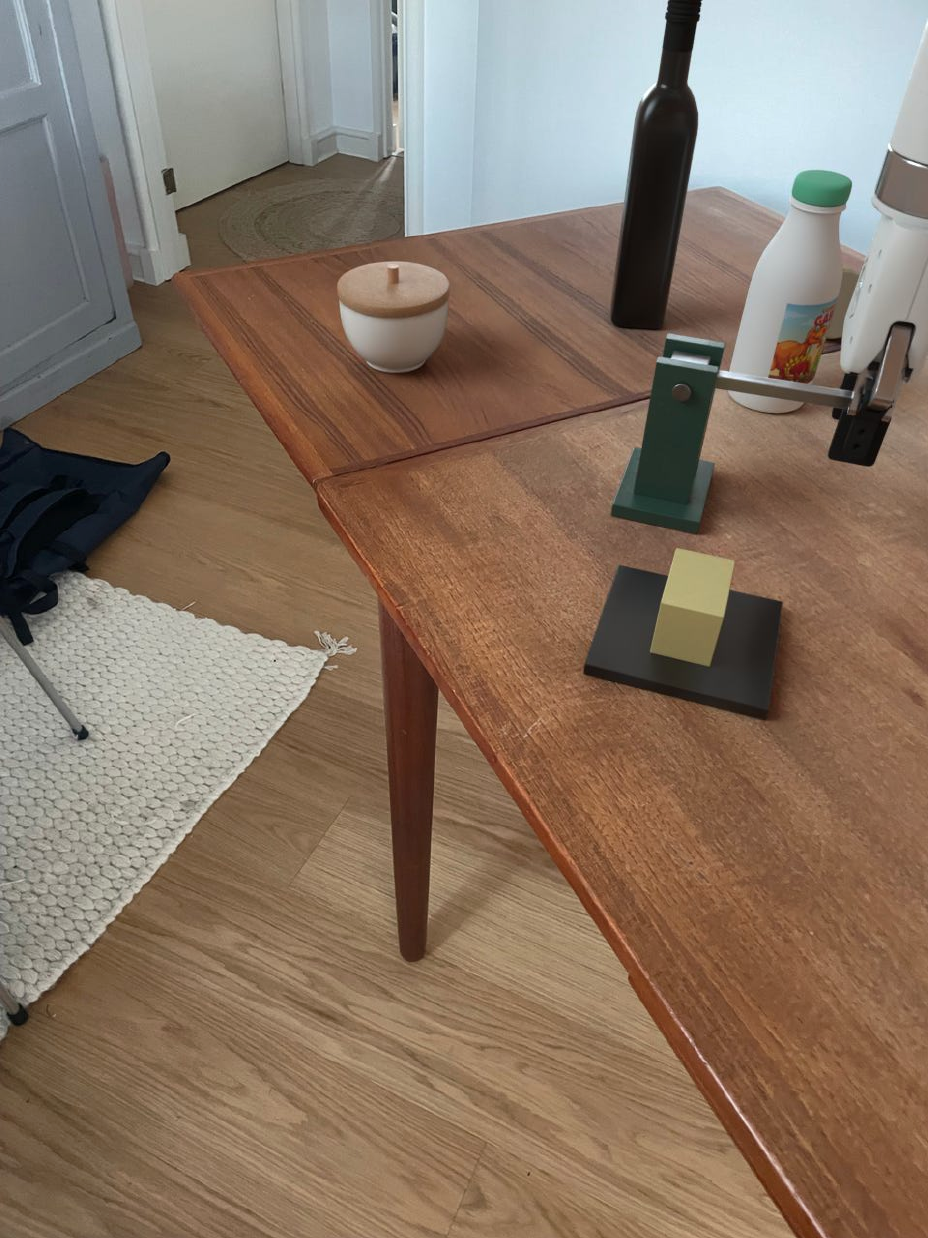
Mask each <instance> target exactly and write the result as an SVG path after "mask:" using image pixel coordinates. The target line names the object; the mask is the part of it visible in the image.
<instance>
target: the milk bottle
mask: <svg viewBox="0 0 928 1238" xmlns="http://www.w3.org/2000/svg"><path fill="white" fill-rule="evenodd" d="M852 189H853V181H852V180H851V178H849V177H848V176H847V175H845V174H842V173H839V172H836V171H832V170H831V171H830V170H825V169H809V170H808V169H807V170H803V171H800V172H798V173H797V174H796V176H795V177H794V180H793V184H792V188H791V196H790V197H789V204H790V208H789V211H788V213H787V216H786V217H785V219H784V220H783V223H782V225H781V226H780V228H779V230H778V231H777V232H776V234H775V235H774V237H773V238H771V240H770V241H769V243H768V245H767V246H766V247H765V248H764V250H763V252H762V253H761V255H760V257H759V260H758V261H757V264H756V266H755V268H754V272H753V274H752V278H751V282H750V285H749V289H748V291H747V296H746V300H745V304H744V308H743V312H742V316H741V319H740V324H739V329H738V333H737V337H736V340H735V345H734V349H733V353H732V357H731V361H730V366H729V370H728V372H735V373H741V374H747V375H754V376H760V377H766V378H773V379H779V380H786V381H792V382H798V383H805V384H811V385H813V383H814V379H815V377H816V374H817V373H816V372H817V370H818V367H819V363H820V360H821V356H822V353H823V351H824V350H823V349H824V347H825V343H826V340H827V339H826V337H827V334H828V330H829V327H830V324H831V320H832V317H833V314H834V310H835V307H836V303H837V299H838V295H839V292H840V288H841V282H842V274H843V267H844V263H843V253H842V248H841V241H840V240H841V239H840V221H841V215H842V212H844V211H845V210H846V209H847V203H848V201H849V200H850V199H849V198H850V196H851V192H852ZM727 393H728V395H729V396H730V398H731V399H733V401H735V402H736V403H738V404H739V405H741V406H742V407H745V408H747V409H750V410H753V411H757V412H760V413H761V412H762V413H768V414H785V413H790V412H793V411H796V410H798V409H800V408H801V407H802V406H803V405H804V404H805V403H803V402H797V401H791V400H785V399H779V398H773V397H766V396H760V395H754V394H748V393H742V392H736V391H729V390H727Z"/></svg>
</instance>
